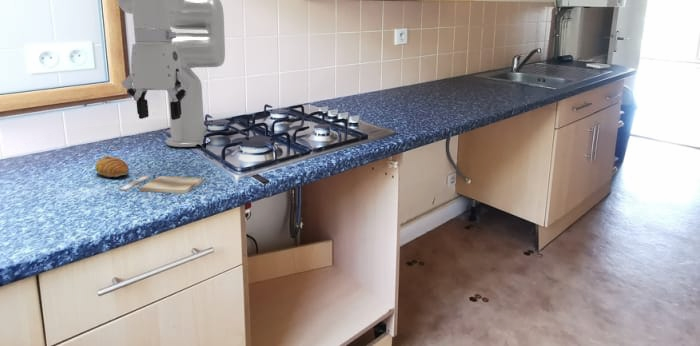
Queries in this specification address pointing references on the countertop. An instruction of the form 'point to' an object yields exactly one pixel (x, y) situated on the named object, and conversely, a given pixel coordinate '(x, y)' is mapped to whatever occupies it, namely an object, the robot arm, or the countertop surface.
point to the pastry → (111, 167)
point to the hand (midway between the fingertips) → (159, 117)
